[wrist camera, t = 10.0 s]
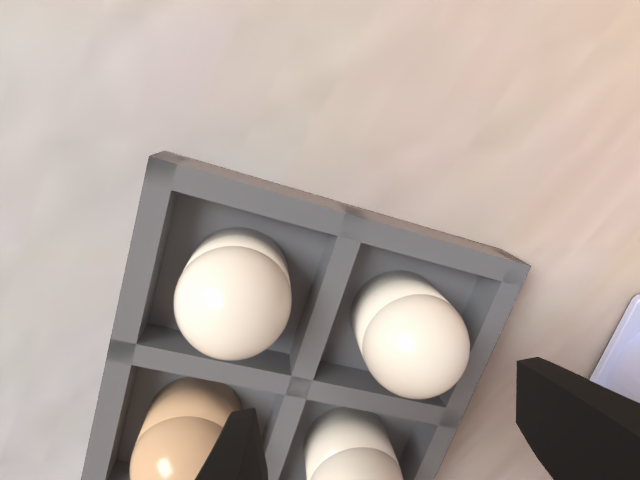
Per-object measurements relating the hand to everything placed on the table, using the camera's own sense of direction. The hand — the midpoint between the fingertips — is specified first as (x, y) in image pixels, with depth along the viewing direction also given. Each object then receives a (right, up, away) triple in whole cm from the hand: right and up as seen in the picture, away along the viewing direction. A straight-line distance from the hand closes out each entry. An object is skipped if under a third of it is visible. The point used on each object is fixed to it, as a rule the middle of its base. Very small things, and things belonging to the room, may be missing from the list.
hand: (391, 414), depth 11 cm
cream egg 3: (+2, +1, +9) cm, 9 cm away
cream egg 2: (-1, -6, +11) cm, 12 cm away
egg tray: (-3, -1, +10) cm, 10 cm away
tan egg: (-8, -4, +9) cm, 13 cm away
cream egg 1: (-6, +3, +8) cm, 10 cm away
